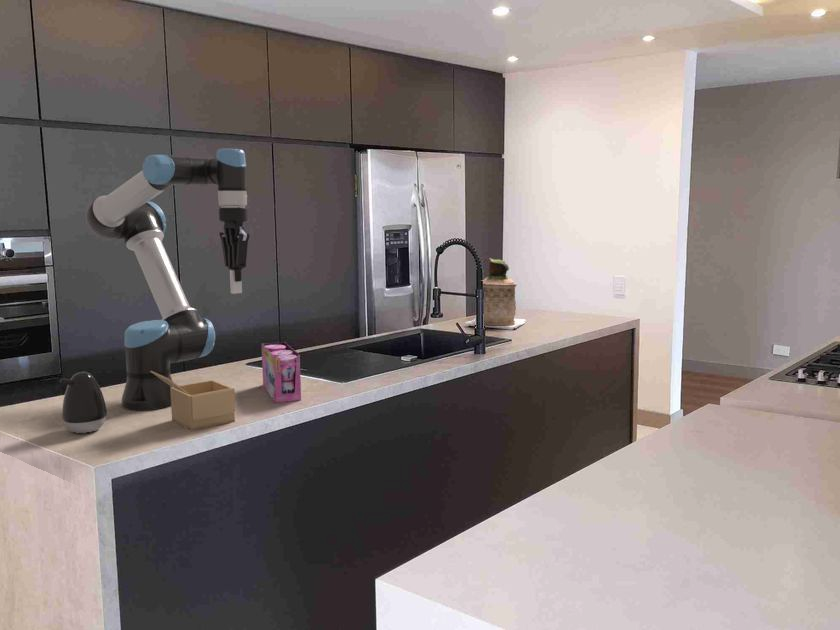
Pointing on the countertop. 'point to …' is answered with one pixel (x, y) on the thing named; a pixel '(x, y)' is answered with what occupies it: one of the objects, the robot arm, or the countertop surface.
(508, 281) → the cookie jar
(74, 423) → the pump dispenser
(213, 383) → the carton
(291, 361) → the gum box
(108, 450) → the countertop surface
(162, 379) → the front flap
